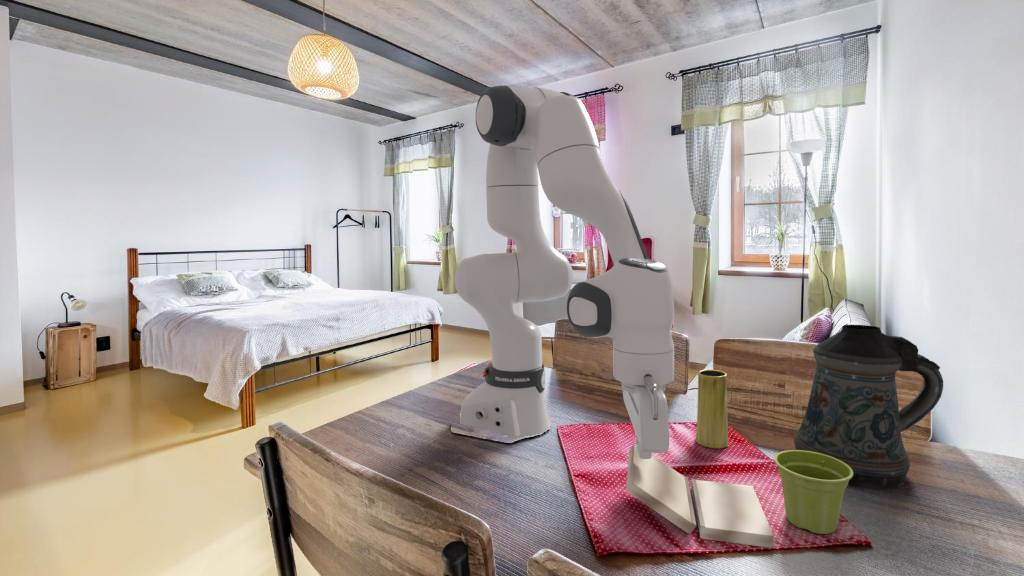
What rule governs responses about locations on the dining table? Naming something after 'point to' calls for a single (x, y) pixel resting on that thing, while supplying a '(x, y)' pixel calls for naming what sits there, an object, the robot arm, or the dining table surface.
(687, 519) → the loose plank
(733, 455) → the dining table surface
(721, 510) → the board
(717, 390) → the vase
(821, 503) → the plant pot
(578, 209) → the robot arm
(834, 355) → the beer stein
